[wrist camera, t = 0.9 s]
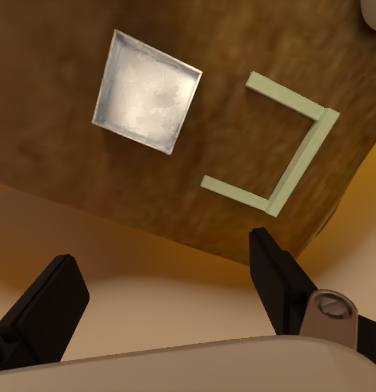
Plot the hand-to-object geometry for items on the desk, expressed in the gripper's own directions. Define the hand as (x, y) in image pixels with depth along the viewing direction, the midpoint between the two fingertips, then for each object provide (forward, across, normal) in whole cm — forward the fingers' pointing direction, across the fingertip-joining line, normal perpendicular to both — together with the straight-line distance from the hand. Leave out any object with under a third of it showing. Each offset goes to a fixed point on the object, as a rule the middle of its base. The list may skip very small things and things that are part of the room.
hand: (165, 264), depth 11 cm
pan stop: (+26, -15, 0) cm, 30 cm away
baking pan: (+26, +2, -10) cm, 28 cm away
